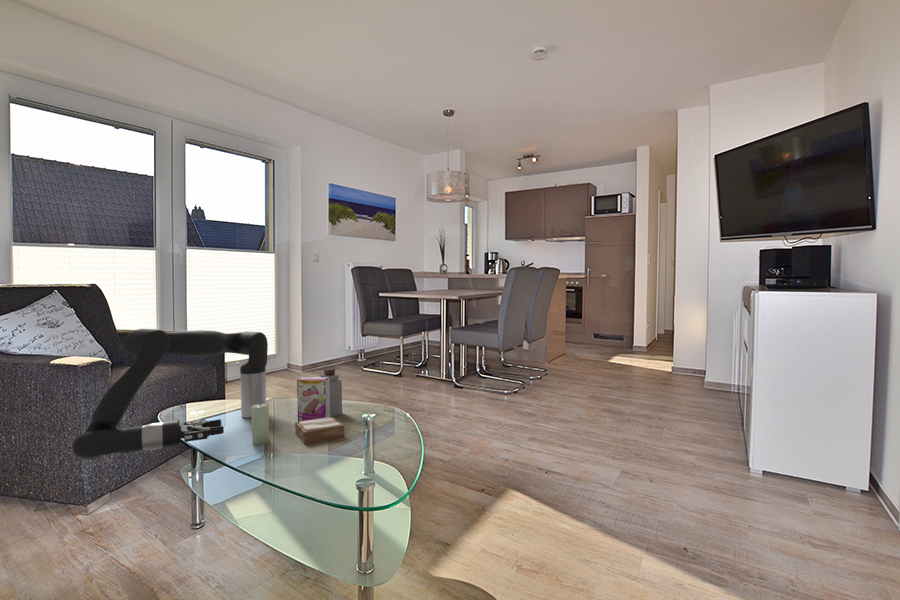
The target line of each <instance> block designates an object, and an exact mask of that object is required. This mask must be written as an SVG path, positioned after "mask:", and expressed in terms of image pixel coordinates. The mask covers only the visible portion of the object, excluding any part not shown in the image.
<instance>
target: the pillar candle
mask: <svg viewBox="0 0 900 600" xmlns="http://www.w3.org/2000/svg"><path fill="white" fill-rule="evenodd" d="M251 409H252V418H251V436H252V437H251V438H252V439H251V442H252V445H254V446H262V445H266V444H269V443H270V406H269V404H267V403H266V404H261V403H260V404H258V405H254V406H252V407H251Z"/></svg>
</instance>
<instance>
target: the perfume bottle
mask: <svg viewBox="0 0 900 600" xmlns="http://www.w3.org/2000/svg"><path fill="white" fill-rule="evenodd" d="M323 372H324V374H320V375H319V376H320V377H327V378H330V417H331V416H333V417H335V416H336V417H337V416H339V415H338V414H341V413H342V414H343V391H342V390H343V387H342V385H343V383H342V382H343V381H342V380H341V379H339V377H340V374H337V373H336V369H335V368H330V367H329V368H325V369H323ZM342 414H341V415H342Z"/></svg>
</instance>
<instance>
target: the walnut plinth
mask: <svg viewBox="0 0 900 600" xmlns="http://www.w3.org/2000/svg"><path fill="white" fill-rule="evenodd" d="M294 425H295V426H294V428H295V430H294V432H295V435H296V437H297V438H298V439H299V440H300V441H301V442H302V444H304V446H305V445H311V444H315V443H321V442H327V441H331V440H332V441H333V440H337V439H343V438H345V425H344V424H343V423H342V422H340V421H339V420H338V419H336V418H335V416H331V417H325V418H319V419H313V420H307V421H300V422H298V421H296V422H294Z"/></svg>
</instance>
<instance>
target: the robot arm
mask: <svg viewBox="0 0 900 600" xmlns="http://www.w3.org/2000/svg"><path fill="white" fill-rule="evenodd" d="M122 345H123V349H124V351H125V352H126V353H127V354H128V355H130V356H132V357H133V358H135V359H134V361H132V364H131V365H130V367H129V368H128V369H127V370H126V371H125V372H124V373H123V375H121V376H120V377H119V378H118V379H117V380H116V381H115V382H114V383H113V384H111V386H110V387H109V388H108V389H107V390H106V392H105V393H104V394H103V396H102V397H101V399H100V401H99V403H98V404H97V406H96V408H95V409H94V411H93V413H92V415H91V422H90V423H89V425H88V427H87V429H86V431H85V432H84V433H82V434H80V435H78V436H77V437H76V438H75V439H74V441H73V442H72V443H73V444H72V452H73V453H74V455H75V456H77V457H78V458H81V459H83V460H87V461H90V460H94V459H99V457H102V456H105V455H112V454H117V453H118V454H119V453H120V454H128V453H134V452H141V451H155V450H159V449H160V450H161V449H165V448H172V447H178V446H180V444H181V439H184V440H183V441H184V442H185V443H187V442H194V441H201V440H208V438H209V437H211V436H215V435H222V434H224V432H225V431H224V429H225V428H224V427H225V426H223V425H222V420H221V419H220V418H219V419H211V420H207V419H205V418H201V419H197V420H191V421H184V422H183V425H180V420H179V419H175V420H174V419H173V420H169V421H168V420H167V421H160V422H153V423H148V424H144V425H137V426H130V427H124V428H118V426H119V424H120V422H121V421H122V419H123V418H124V416H125V414H126V412H127V411H128V409H129V406H130V404H131V402H132V401H133V399H135V396H136V394H137V392H138V391H139V389H140V388H141V387H142V386H143V384H144V383H145V381H146V380H147V378H149V377H150V374H152V372H153V371H154V370H155V368H156V366H157V365H158V364H159V363H160V362H161V360H162V359H163V358H164V356H165V355H172V356H173V355H174V356H182V357H183V356H184V357H213V356H214V357H215V356H219V355H221V354H227V353H228V354H229V353H230V354H236V355H237V354H238V355H246V356H248V359H247V360H248V361H247V362H246V363H243V364H242V365H241V366H240V368H239V370H240V371H239V373H240V375H239V376H240V377H239V378H240V401H241V402H240V412H241V417H242V418H244V417H245V418H244V419H249V418H250V419H252V409H251V407H252V406H254V405H258V404H260V403H261V404H267V381H266V379H267V378H266V369H267V368H266V367H267V364H268V350H269V349H268V348H269V347H268V346H269V343H268V338H267V336H266V334H264V332H260V331H241V332H233V333H231V332H230V333H225V332H222V331H216V330H208V329H207V330H206V329H205V330H204V329H202V330H197V329H196V330H182V331H180V330H179V331H171V332H170V331H169V332H167V331H165V330H162V329H158V328H139V329H135V330H133V331H131V332H130V333H128V334H127V335H126V336H125V338H124V340H123V343H122Z"/></svg>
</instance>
